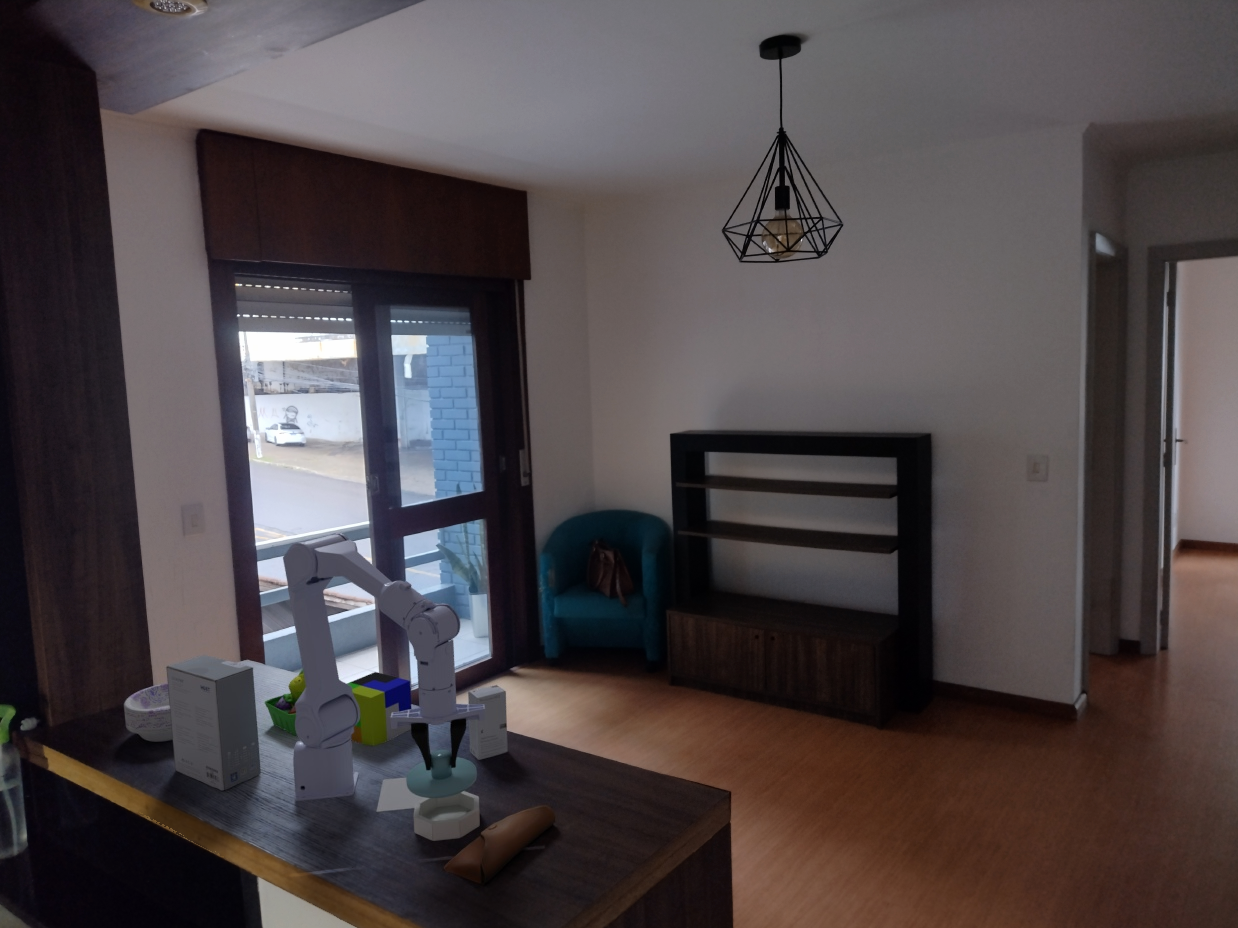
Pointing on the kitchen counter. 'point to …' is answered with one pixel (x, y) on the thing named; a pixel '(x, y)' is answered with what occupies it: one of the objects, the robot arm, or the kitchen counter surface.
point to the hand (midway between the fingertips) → (441, 766)
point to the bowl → (446, 816)
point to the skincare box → (489, 723)
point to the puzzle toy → (379, 707)
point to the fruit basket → (287, 705)
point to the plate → (396, 796)
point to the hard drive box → (214, 720)
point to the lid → (441, 776)
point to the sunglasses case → (500, 844)
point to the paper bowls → (150, 713)
